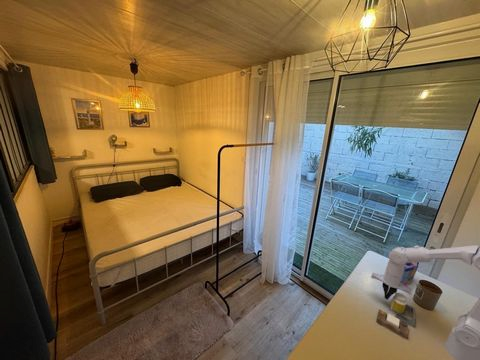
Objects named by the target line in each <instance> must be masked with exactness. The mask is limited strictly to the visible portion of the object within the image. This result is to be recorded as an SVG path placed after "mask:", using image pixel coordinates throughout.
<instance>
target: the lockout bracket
mask: <svg viewBox="0 0 480 360" xmlns="http://www.w3.org/2000/svg"><path fill="white" fill-rule="evenodd" d="M405 310H406V311H408V312H409V313H411V318H409V317H406V316H405V315H404V314H403V315H401V314H399V313H396V314H395V315H394V317H396V318H398V319H399V320H401V321H403V322H405V323H407V324H408V326H410V327H412V328H414V326H415V324H416V308H415V307H414V306H411V305H410V304H407V303H406V307H405Z"/></svg>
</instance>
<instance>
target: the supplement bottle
mask: <svg viewBox="0 0 480 360" xmlns="http://www.w3.org/2000/svg"><path fill="white" fill-rule="evenodd" d="M407 299H408V298H407V296H406V295H405V294H403V293H401V292H396V293H394V296H393V297H392V300H391V303H390V306H389V309H390V311H391V312H392V313H393V314H395V315H396V313H399V314H401V315H403V316H404V313H405V310H406V309H405V307H406V304H407Z"/></svg>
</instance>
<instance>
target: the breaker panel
mask: <svg viewBox="0 0 480 360" xmlns="http://www.w3.org/2000/svg"><path fill="white" fill-rule="evenodd" d="M387 314H388V313H387V312H386V311H383V310H381V309H380V308H379V309H378V311H377V316H376V323H377V324H378V325H380V326H383V327H384V328H385V329H388V330H390V331H391V332H393V333H395V334H396V335H399V336H400V337H402V338H404V339H405V340H407V339H408V336H409V325H408V324H407V323H405V322H403V321H401V320H399V328H397V327H395V326H393V325H391V324H390V323H388V322H386V317H387Z"/></svg>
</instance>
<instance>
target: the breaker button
mask: <svg viewBox="0 0 480 360" xmlns="http://www.w3.org/2000/svg"><path fill="white" fill-rule="evenodd" d="M385 321H386V322H388V323H390V324H391V325H393V326H395V327H397V328H399V319H398V318H396V317H395V315H392V314H389V313H387V317H386V318H385Z"/></svg>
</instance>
